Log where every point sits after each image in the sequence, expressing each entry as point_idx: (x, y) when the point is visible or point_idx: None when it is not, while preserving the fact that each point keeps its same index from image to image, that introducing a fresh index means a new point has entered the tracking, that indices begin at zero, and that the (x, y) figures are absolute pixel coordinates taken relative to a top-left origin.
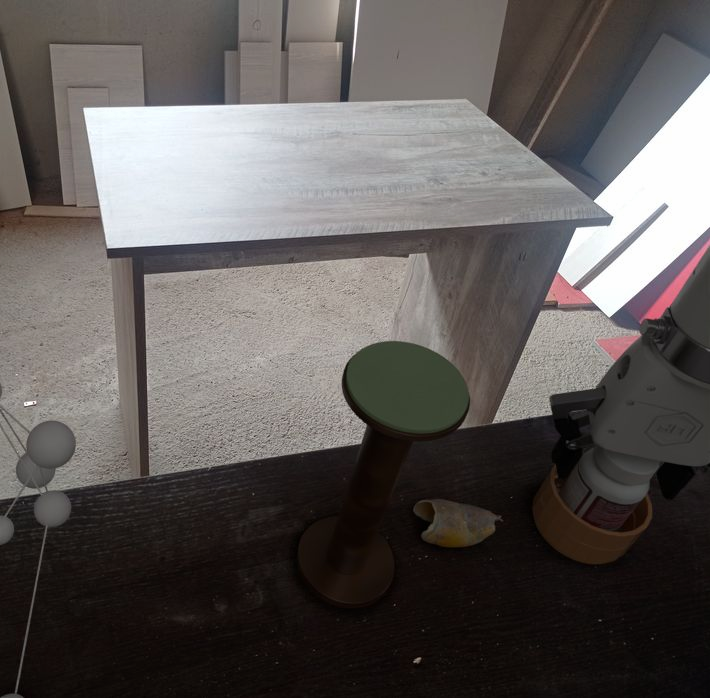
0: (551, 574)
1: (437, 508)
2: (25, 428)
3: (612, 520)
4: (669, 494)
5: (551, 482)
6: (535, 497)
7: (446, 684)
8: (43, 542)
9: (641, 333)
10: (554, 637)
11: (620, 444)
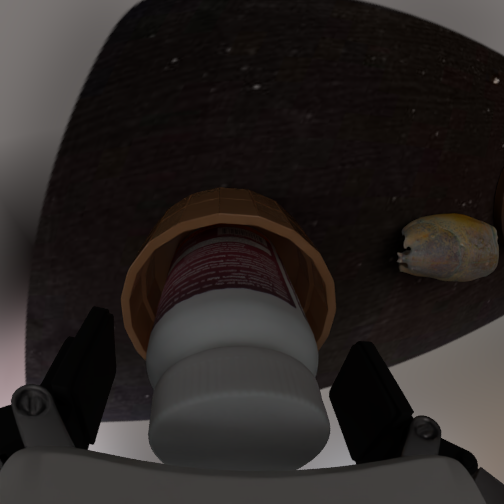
0: (310, 169)
1: (495, 260)
2: None
3: (229, 254)
4: (102, 320)
5: (328, 332)
6: None
7: (477, 47)
8: None
9: None
10: (345, 65)
11: (425, 495)
